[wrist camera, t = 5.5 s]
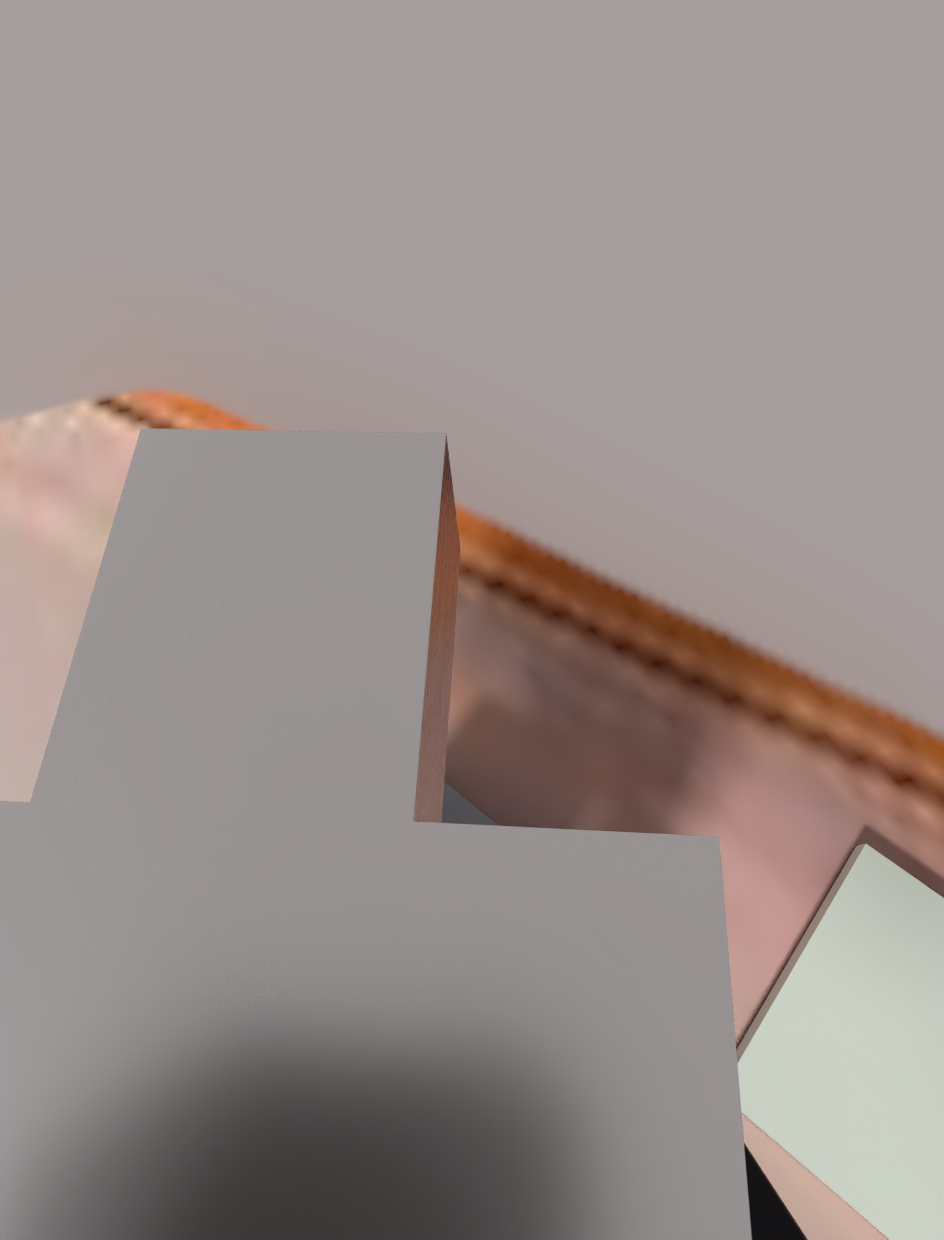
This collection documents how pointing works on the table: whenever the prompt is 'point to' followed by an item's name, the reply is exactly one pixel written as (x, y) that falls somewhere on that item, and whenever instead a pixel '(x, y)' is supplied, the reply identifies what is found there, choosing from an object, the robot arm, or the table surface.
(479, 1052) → the grey stepped block
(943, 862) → the table surface
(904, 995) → the pad
